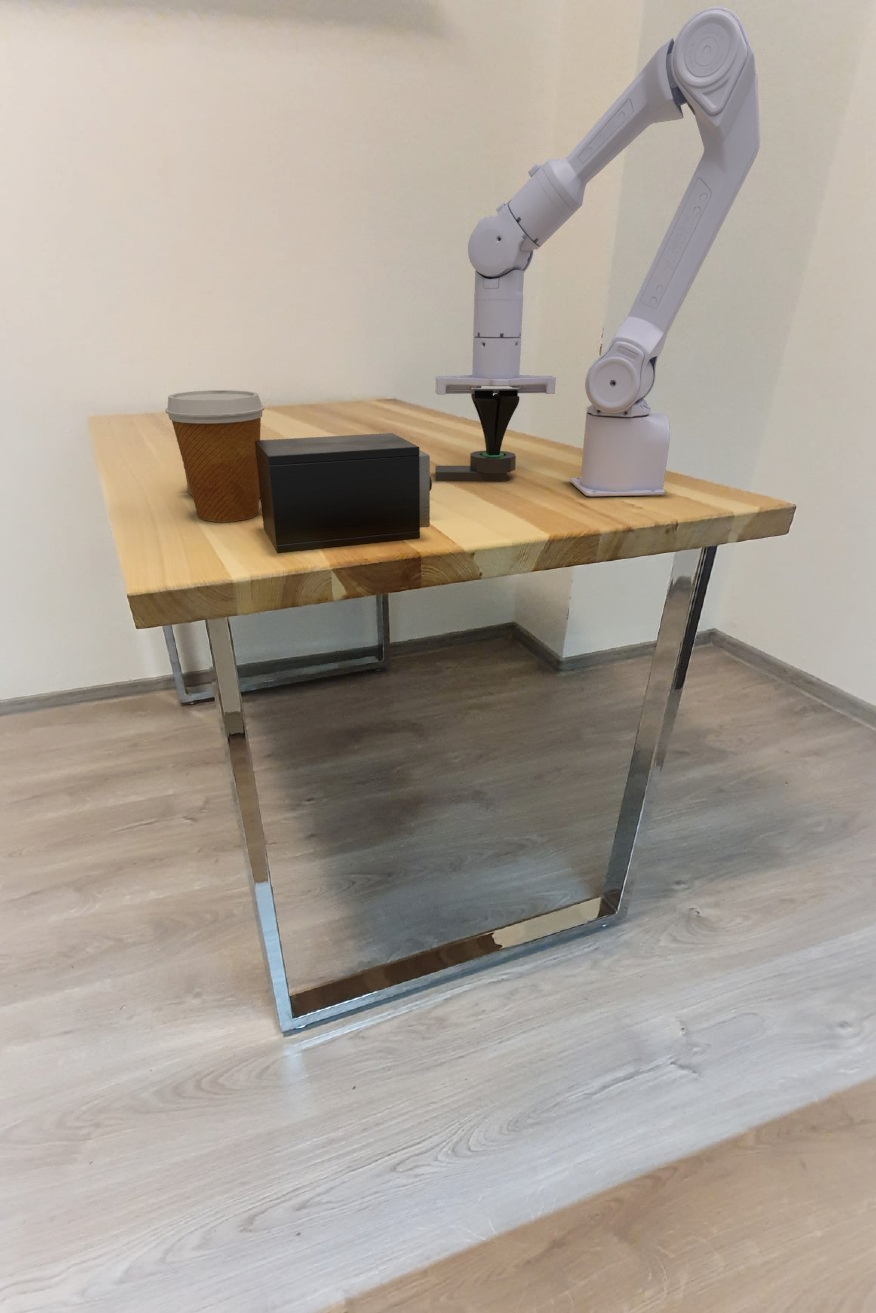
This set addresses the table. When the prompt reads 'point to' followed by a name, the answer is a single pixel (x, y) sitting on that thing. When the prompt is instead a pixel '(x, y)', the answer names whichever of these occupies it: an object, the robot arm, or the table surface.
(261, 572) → the table surface
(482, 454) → the button
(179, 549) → the table surface
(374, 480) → the cabinet
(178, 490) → the table surface
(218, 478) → the disposable coffee cup
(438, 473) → the control block
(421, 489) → the drawer
